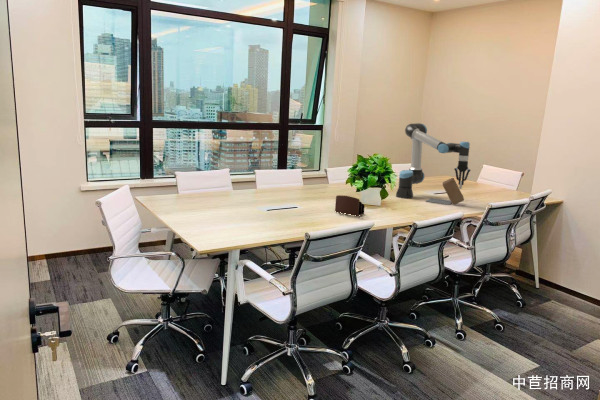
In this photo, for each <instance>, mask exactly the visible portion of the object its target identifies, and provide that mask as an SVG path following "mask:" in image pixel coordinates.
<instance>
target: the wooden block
mask: <svg viewBox="0 0 600 400" xmlns="http://www.w3.org/2000/svg"><path fill="white" fill-rule="evenodd" d="M458 185H459V184H458V183H457V182H456V179H455V178H454V177H451V178H449V179H446V180H444V181H442V186H443V189H444V190H445V192H446V194H447V196H448V198H449V200H450V201H451V202H452V204H451V205H453V206H454V205H457V204H459V203H461V202H464V200H465V198H464V195H463V193H462V191H461V189H459V186H458Z"/></svg>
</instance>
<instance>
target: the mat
mask: <svg viewBox="0 0 600 400" xmlns="http://www.w3.org/2000/svg"><path fill="white" fill-rule="evenodd" d="M425 203H431V204H437V205H445V206H450V205H453V204H452V202H451V200H450V199H448V200H447V199H441V198H435V197H431V198H429V199H426V200H425Z"/></svg>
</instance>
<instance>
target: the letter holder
mask: <svg viewBox="0 0 600 400" xmlns="http://www.w3.org/2000/svg"><path fill="white" fill-rule="evenodd" d="M335 211H336V212H341V213H346V214H351V215H356V216H355V217H357V216H359V215H361V216H363V215H362V214H364V215H365V204H364V203H362V201H360V199H359V198H357V197H354V196H349V195H340V194H339V195H336V197H335V205H334V212H335ZM341 213H340V214H341ZM346 214H345V215H346ZM351 215H350V216H351ZM359 217H360V216H359Z"/></svg>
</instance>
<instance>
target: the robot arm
mask: <svg viewBox="0 0 600 400" xmlns="http://www.w3.org/2000/svg"><path fill="white" fill-rule="evenodd" d="M404 132H405V135H406V136H407V137H409V138H410V139H411V142H412V145H411V159H410V160H411V161H410V167H409V168H408V169H404V170H401V171H400V172H399V178H398V188H397V191H396V193H395V197H397V198H401V199H413V198H414V192H413V185H417V184H420V183H422V182H423V181H424V179H425V173H424V171H423V168H422V165H421V164H422V153H423V152H422V151H423V143H424V144H426V145H427V146H429V147H431V148H433V149H435V150H437V152H438V153H441V154H450V153H456V154H458V161H457V162H458V163H457V166H456V168H454V173H455V180H457V181H458V185H459V186H458V187H459V189H460V190H462V189H463V185H464V182H465V181H467V179H468V177H469V176H468V175H469V174H470V172H471V169H470V168H469V157H470V155H469V154H470V148H471V147H470V145H471V144H470V142H469V141H460V142H459V143H456V142H447V143H446V142H443V141H441V139H437V138H436V137H434V136H431V135H429V134H427V133H428V129H427V127H426V125H425V124H423V123H419V122H418V123H409V124H407V125H406V126H405V130H404Z"/></svg>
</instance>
